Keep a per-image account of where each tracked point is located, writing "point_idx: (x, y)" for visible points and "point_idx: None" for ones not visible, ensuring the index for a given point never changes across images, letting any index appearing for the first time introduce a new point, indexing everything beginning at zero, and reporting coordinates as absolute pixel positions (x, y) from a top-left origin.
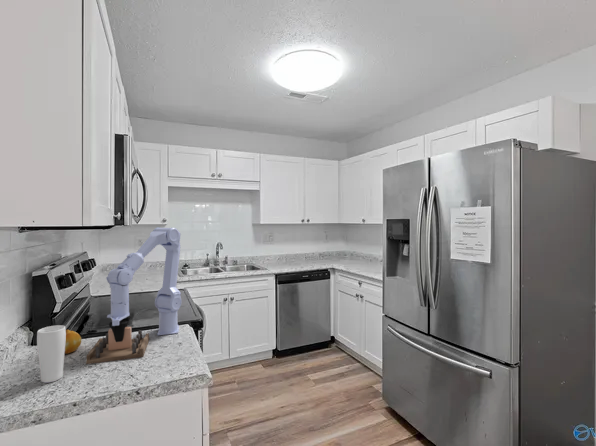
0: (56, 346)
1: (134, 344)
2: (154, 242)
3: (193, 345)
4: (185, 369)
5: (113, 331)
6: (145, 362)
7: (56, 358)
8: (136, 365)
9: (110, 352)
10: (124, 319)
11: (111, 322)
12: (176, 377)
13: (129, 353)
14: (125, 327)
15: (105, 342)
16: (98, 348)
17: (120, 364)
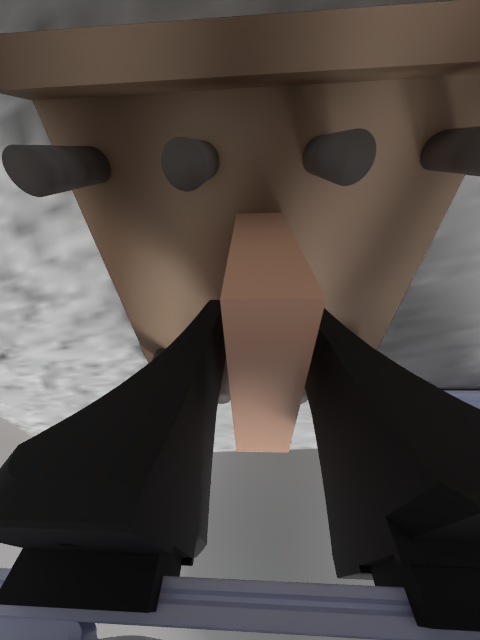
0: None
1: None
2: None
3: (231, 450)
4: None
5: (147, 371)
6: (111, 377)
7: None
8: (82, 358)
9: (187, 240)
10: (351, 539)
11: (93, 537)
12: (32, 429)
13: (159, 339)
14: (282, 429)
15: (316, 173)
16: (24, 187)
17: (82, 307)
